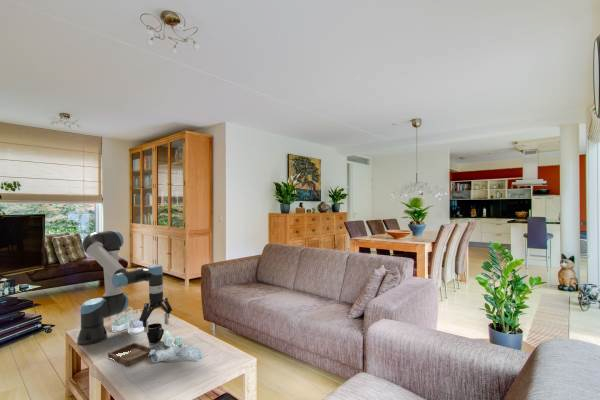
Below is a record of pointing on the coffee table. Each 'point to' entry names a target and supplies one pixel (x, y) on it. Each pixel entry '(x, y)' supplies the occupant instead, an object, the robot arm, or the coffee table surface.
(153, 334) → the mug
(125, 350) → the tray
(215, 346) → the coffee table surface
